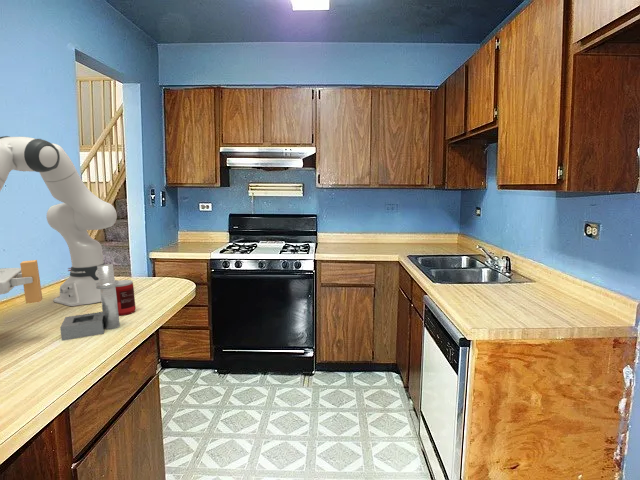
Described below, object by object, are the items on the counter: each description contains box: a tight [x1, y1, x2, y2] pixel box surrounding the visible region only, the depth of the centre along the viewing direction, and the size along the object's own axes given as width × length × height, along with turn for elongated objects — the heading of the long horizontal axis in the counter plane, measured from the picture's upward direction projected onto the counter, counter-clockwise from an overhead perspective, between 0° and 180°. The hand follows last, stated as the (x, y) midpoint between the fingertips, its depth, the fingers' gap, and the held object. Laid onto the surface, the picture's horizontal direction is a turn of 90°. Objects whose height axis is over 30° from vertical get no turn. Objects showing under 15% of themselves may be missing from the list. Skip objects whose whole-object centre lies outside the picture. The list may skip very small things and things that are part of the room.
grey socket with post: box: [59, 263, 121, 341], centre depth 131 cm, size 16×11×20 cm
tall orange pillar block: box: [19, 259, 43, 304], centre depth 124 cm, size 4×4×12 cm
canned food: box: [116, 279, 137, 317], centre depth 149 cm, size 8×8×11 cm
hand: (34, 277), depth 124 cm, fingers closed on tall orange pillar block, 3 cm apart
